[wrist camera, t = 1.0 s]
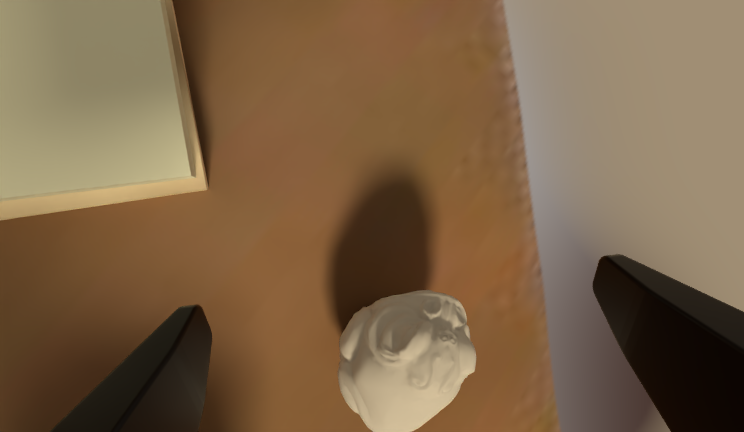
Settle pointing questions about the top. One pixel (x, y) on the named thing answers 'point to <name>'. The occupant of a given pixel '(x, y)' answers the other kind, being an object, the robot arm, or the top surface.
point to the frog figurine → (405, 359)
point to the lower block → (126, 193)
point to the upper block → (88, 97)
